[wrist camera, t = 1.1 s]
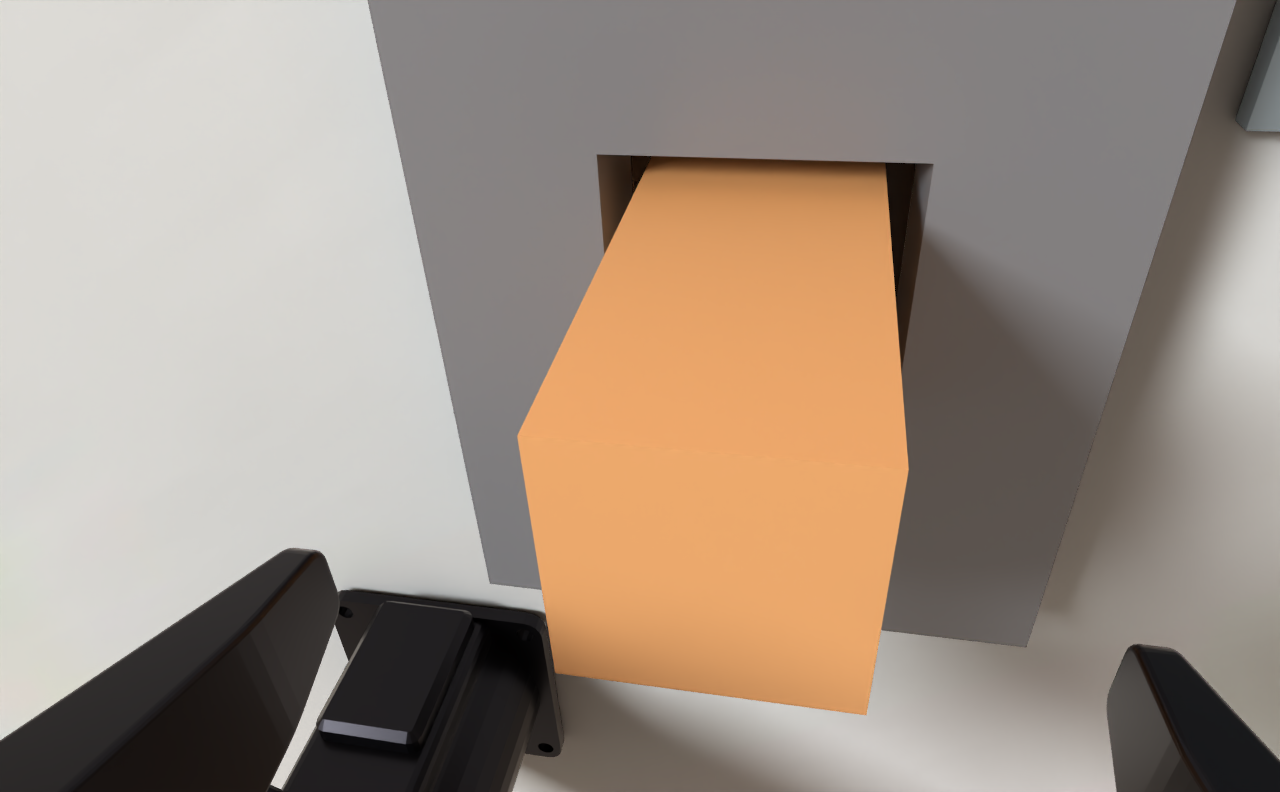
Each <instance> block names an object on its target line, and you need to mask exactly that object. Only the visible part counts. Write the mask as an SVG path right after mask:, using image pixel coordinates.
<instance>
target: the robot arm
mask: <svg viewBox="0 0 1280 792" xmlns="http://www.w3.org/2000/svg"><path fill="white" fill-rule="evenodd" d="M334 625H335V626H336V629H337V631H338V634H339V637H340V639H341V642H342V645H343V647H344V650H345V653H346V655H347V658H348V661H349V662H348V664H347V666H346V667H345V669H344V671H343V673H342V675H341V677H340V678H339V680H338V682H337V684H336V686H335V687H334V689H333V691H332V693H331V695H330V697H329V698H328V700H327V702H326V704H325V706H324V708H323V709H322V711H321V713H320V715H319V717H318V719H317V722H316V727H315V729H314V730H313V732H312V734H311V736H310V738H309V740H308V741H307V743H306V745H305V747H304V749H303V751H302V752H301V754H300V756H299V758H298V760H297V762H296V764H295V765H294V767H293V769H292V771H291V773H290V775H289V776H288V778H287V780H286V782H285V784H284V786H283V787H282V789H279V788H277V787H274V786H272V785H270V784H271V782H272V780H273V778H274V776H275V774H276V771H277V769H278V767H279V765H280V763H281V761H282V759H283V757H284V755H285V753H286V751H287V749H288V746H289V744H290V742H291V740H292V738H293V735H294V733H295V731H296V728H297V726H298V723H299V721H300V718H301V716H302V713H303V711H304V708H305V705H306V702H307V700H308V697H309V694H310V691H311V688H312V686H313V683H314V680H315V677H316V675H317V672H318V669H319V666H320V664H321V661H322V658H323V655H324V653H325V650H326V647H327V644H328V641H329V639H330V636H331V633H332V630H333V628H334ZM1107 718H1108V726H1109V734H1110V742H1111V750H1112V758H1113V766H1114V774H1115V782H1116V790H1117V792H1280V760H1279V759H1278V758H1277V757H1276V756H1275V755H1274V754H1273V753H1272V751H1271V750H1270V749H1269V748H1268V747H1267V746H1266V745H1265V744H1264V743H1263V742H1262V741H1261V740H1260V739H1259V737H1258V736H1257V735H1256V734H1255V733H1254V732H1253V731H1252V730H1251V729H1250V728H1249V727H1248V726H1247V725H1246V723H1245V722H1244V721H1243V720H1242V719H1241V718H1240V717H1239V716H1238V715H1237V714H1236V713H1235V712H1234V711H1233V709H1232V708H1231V707H1230V706H1229V705H1228V704H1227V703H1226V702H1225V701H1224V700H1223V699H1222V698H1221V697H1220V695H1219V694H1218V693H1217V692H1216V691H1215V690H1214V689H1213V688H1212V687H1211V686H1210V685H1209V684H1208V683H1207V681H1206V680H1205V679H1204V678H1203V677H1202V676H1201V675H1200V674H1199V673H1198V672H1197V671H1196V670H1195V669H1194V667H1193V666H1192V665H1191V664H1190V663H1189V662H1188V661H1187V660H1186V659H1185V658H1184V657H1183V656H1182V655H1181V654H1180V653H1179V652H1177V651H1176V650H1174V649H1171V648H1167V647H1159V646H1150V645H1142V644H1135V645H1132V646H1130V647H1129V648H1128V649H1127V651H1126V653H1125V655H1124V657H1123V659H1122V662H1121V664H1120V666H1119V669H1118V671H1117V674H1116V676H1115V678H1114V681H1113V683H1112V685H1111V688H1110V690H1109V693H1108V698H1107ZM563 743H564V735H563V729H562V723H561V716H560V710H559V704H558V698H557V692H556V686H555V680H554V673H553V667H552V661H551V655H550V649H549V643H548V637H547V630H546V626H545V623H544V621H543V620H542V619H541V618H540V617H538V616H536V615H534V614H531V613H526V612H518V611H510V610H502V609H494V608H486V607H478V606H470V605H462V604H454V603H446V602H438V601H430V600H422V599H414V598H405V597H397V596H389V595H381V594H373V593H365V592H357V591H349V590H341V591H339V592H337V589H336V586H335V583H334V580H333V577H332V575H331V572H330V569H329V566H328V563H327V560H326V558H325V556H324V555H323V554H322V553H321V552H320V551H317V550H309V549H300V548H289V549H286V550H284V551H282V552H280V553H279V554H277V555H276V556H274V557H273V558H271V559H270V560H268V561H267V562H265V563H264V564H262V565H261V566H259V567H258V568H256V569H255V570H253V571H252V572H250V573H249V574H247V575H246V576H244V577H243V578H241V579H240V580H238V581H237V582H235V583H234V584H232V585H231V586H229V587H228V588H226V589H225V590H223V591H222V592H221V593H219V594H218V595H216V596H215V597H213V598H212V599H210V600H209V601H207V602H206V603H204V604H203V605H201V606H200V607H198V608H197V609H195V610H194V611H192V612H191V613H189V614H188V615H186V616H185V617H183V618H182V619H180V620H179V621H177V622H176V623H174V624H173V625H171V626H170V627H168V628H167V629H165V630H164V631H162V632H161V633H159V634H158V635H157V636H155V637H154V638H152V639H151V640H149V641H148V642H146V643H145V644H143V645H142V646H140V647H139V648H137V649H136V650H134V651H133V652H131V653H130V654H128V655H127V656H125V657H124V658H122V659H121V660H119V661H118V662H116V663H115V664H113V665H112V666H110V667H109V668H107V669H106V670H104V671H103V672H101V673H100V674H98V675H97V676H95V677H94V678H93V679H91V680H90V681H88V682H87V683H85V684H84V685H82V686H81V687H79V688H78V689H76V690H75V691H73V692H72V693H70V694H69V695H67V696H66V697H64V698H63V699H61V700H60V701H58V702H57V703H55V704H54V705H52V706H51V707H49V708H48V709H46V710H45V711H43V712H42V713H40V714H39V715H37V716H36V717H34V718H33V719H31V720H30V721H29V722H27V723H26V724H24V725H23V726H21V727H20V728H18V729H17V730H15V731H14V732H12V733H11V734H9V735H8V736H6V737H5V738H3V739H2V740H0V792H512V791H513V788H514V785H515V782H516V778H517V775H518V772H519V769H520V766H521V763H522V760H523V757H524V754H525V753H526V754H532V755H539V756H545V757H555V756H558V755H559V754H560V753H561V750H562V746H563Z"/></svg>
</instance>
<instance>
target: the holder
mask: <svg viewBox="0 0 1280 792" xmlns="http://www.w3.org/2000/svg"><path fill="white" fill-rule="evenodd" d="M1235 3H1236V0H368V4H369V9H370V14H371V19H372V24H373V28H374V33H375V38H376V43H377V47H378V52H379V57H380V62H381V66H382V71H383V76H384V81H385V85H386V90H387V95H388V100H389V105H390V109H391V114H392V119H393V124H394V128H395V133H396V138H397V143H398V147H399V152H400V157H401V162H402V167H403V171H404V176H405V181H406V186H407V190H408V195H409V200H410V205H411V209H412V214H413V219H414V224H415V228H416V233H417V238H418V243H419V248H420V252H421V257H422V262H423V267H424V271H425V276H426V281H427V286H428V290H429V295H430V300H431V305H432V310H433V314H434V319H435V324H436V329H437V333H438V338H439V343H440V348H441V352H442V357H443V362H444V367H445V371H446V376H447V381H448V386H449V391H450V395H451V400H452V405H453V410H454V414H455V419H456V424H457V429H458V433H459V438H460V443H461V448H462V453H463V457H464V462H465V467H466V472H467V476H468V481H469V486H470V491H471V495H472V500H473V505H474V510H475V514H476V519H477V524H478V529H479V534H480V538H481V543H482V548H483V553H484V557H485V562H486V567H487V572H488V576H489V581H490V584H497V585H506V586H514V587H523V588H531V589H540V590H542V587H541V581H540V575H539V569H538V562H537V556H536V550H535V544H534V538H533V531H532V525H531V519H530V513H529V506H528V500H527V494H526V488H525V481H524V475H523V469H522V463H521V457H520V450H519V444H518V438H517V435H518V433H519V431H520V429H521V427H522V425H523V423H524V421H525V418H526V416H527V414H528V412H529V410H530V408H531V406H532V404H533V402H534V400H535V398H536V396H537V394H538V391H539V389H540V387H541V385H542V383H543V381H544V379H545V377H546V375H547V373H548V371H549V369H550V367H551V365H552V362H553V360H554V358H555V356H556V354H557V352H558V350H559V348H560V346H561V344H562V342H563V340H564V338H565V335H566V333H567V331H568V329H569V327H570V325H571V323H572V321H573V319H574V317H575V315H576V313H577V311H578V308H579V306H580V304H581V302H582V300H583V298H584V296H585V294H586V292H587V290H588V288H589V286H590V284H591V281H592V279H593V277H594V275H595V273H596V271H597V269H598V267H599V265H600V263H601V261H602V259H603V257H604V254H605V252H606V250H607V248H608V246H609V244H610V242H611V240H612V238H613V236H614V234H615V232H616V230H617V227H618V225H619V223H620V221H621V219H622V217H623V215H624V213H625V211H626V209H627V207H628V205H629V203H630V201H631V198H632V196H633V193H632V174H631V155H637V156H673V157H709V158H746V159H782V160H819V161H855V162H892V163H916V166H915V173H914V180H913V187H912V194H911V201H910V208H909V215H908V222H907V229H906V236H905V244H904V251H903V258H902V265H901V272H900V279H899V286H898V293H897V300H896V310H897V323H898V336H899V349H900V362H901V375H902V388H903V401H904V414H905V427H906V441H907V454H908V467H909V471H908V477H907V483H906V488H905V494H904V500H903V506H902V512H901V517H900V523H899V529H898V535H897V540H896V546H895V552H894V558H893V564H892V569H891V575H890V581H889V587H888V592H887V598H886V604H885V610H884V616H883V621H882V627H881V630H885V631H893V632H901V633H910V634H918V635H927V636H935V637H943V638H952V639H960V640H969V641H977V642H985V643H994V644H1002V645H1011V646H1019V647H1027V644H1028V641H1029V638H1030V634H1031V631H1032V628H1033V625H1034V622H1035V619H1036V616H1037V613H1038V610H1039V607H1040V604H1041V601H1042V598H1043V594H1044V591H1045V588H1046V585H1047V582H1048V579H1049V576H1050V573H1051V570H1052V567H1053V564H1054V561H1055V558H1056V554H1057V551H1058V548H1059V545H1060V542H1061V539H1062V536H1063V533H1064V530H1065V527H1066V524H1067V521H1068V518H1069V514H1070V511H1071V508H1072V505H1073V502H1074V499H1075V496H1076V493H1077V490H1078V487H1079V484H1080V481H1081V477H1082V474H1083V471H1084V468H1085V465H1086V462H1087V459H1088V456H1089V453H1090V450H1091V447H1092V444H1093V441H1094V437H1095V434H1096V431H1097V428H1098V425H1099V422H1100V419H1101V416H1102V413H1103V410H1104V407H1105V404H1106V401H1107V397H1108V394H1109V391H1110V388H1111V385H1112V382H1113V379H1114V376H1115V373H1116V370H1117V367H1118V364H1119V361H1120V357H1121V354H1122V351H1123V348H1124V345H1125V342H1126V339H1127V336H1128V333H1129V330H1130V327H1131V324H1132V321H1133V317H1134V314H1135V311H1136V308H1137V305H1138V302H1139V299H1140V296H1141V293H1142V290H1143V287H1144V284H1145V281H1146V277H1147V274H1148V271H1149V268H1150V265H1151V262H1152V259H1153V256H1154V253H1155V250H1156V247H1157V244H1158V240H1159V237H1160V234H1161V231H1162V228H1163V225H1164V222H1165V219H1166V216H1167V213H1168V210H1169V207H1170V204H1171V200H1172V197H1173V194H1174V191H1175V188H1176V185H1177V182H1178V179H1179V176H1180V173H1181V170H1182V167H1183V164H1184V160H1185V157H1186V154H1187V151H1188V148H1189V145H1190V142H1191V139H1192V136H1193V133H1194V130H1195V127H1196V124H1197V120H1198V117H1199V114H1200V111H1201V108H1202V105H1203V102H1204V99H1205V96H1206V93H1207V90H1208V87H1209V84H1210V80H1211V77H1212V74H1213V71H1214V68H1215V65H1216V62H1217V59H1218V56H1219V53H1220V50H1221V47H1222V44H1223V40H1224V37H1225V34H1226V31H1227V28H1228V25H1229V22H1230V19H1231V16H1232V13H1233V10H1234V7H1235Z"/></svg>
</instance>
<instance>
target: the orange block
mask: <svg viewBox="0 0 1280 792" xmlns="http://www.w3.org/2000/svg"><path fill="white" fill-rule="evenodd" d="M517 438H518V444H519V450H520V457H521V463H522V469H523V475H524V481H525V488H526V494H527V500H528V506H529V513H530V519H531V525H532V531H533V538H534V544H535V550H536V556H537V562H538V569H539V575H540V581H541V587H542V594H543V600H544V606H545V612H546V619H547V625H548V631H549V637H550V644H551V650H552V656H553V662H554V668H555V673H558V674H566V675H573V676H580V677H588V678H595V679H603V680H610V681H617V682H625V683H632V684H640V685H647V686H654V687H662V688H669V689H676V690H684V691H691V692H699V693H706V694H713V695H721V696H728V697H735V698H743V699H750V700H758V701H765V702H772V703H780V704H787V705H794V706H802V707H809V708H817V709H824V710H831V711H839V712H846V713H854V714H861V715H866V714H867V708H868V702H869V697H870V691H871V685H872V679H873V673H874V668H875V662H876V656H877V650H878V645H879V639H880V633H881V627H882V621H883V616H884V610H885V604H886V598H887V592H888V587H889V581H890V575H891V569H892V564H893V558H894V552H895V546H896V540H897V535H898V529H899V523H900V517H901V512H902V506H903V500H904V494H905V488H906V483H907V477H908V471H909V467H908V454H907V441H906V427H905V414H904V401H903V388H902V375H901V362H900V349H899V336H898V323H897V310H896V297H895V284H894V271H893V258H892V244H891V231H890V218H889V205H888V192H887V179H886V166H885V162H855V161H819V160H782V159H746V158H709V157H673V156H652V157H651V159H650V161H649V163H648V165H647V167H646V169H645V171H644V174H643V176H642V178H641V180H640V182H639V184H638V186H637V188H636V190H635V192H634V194H633V196H632V198H631V201H630V203H629V205H628V207H627V209H626V211H625V213H624V215H623V217H622V219H621V221H620V223H619V225H618V227H617V230H616V232H615V234H614V236H613V238H612V240H611V242H610V244H609V246H608V248H607V250H606V252H605V254H604V257H603V259H602V261H601V263H600V265H599V267H598V269H597V271H596V273H595V275H594V277H593V279H592V281H591V284H590V286H589V288H588V290H587V292H586V294H585V296H584V298H583V300H582V302H581V304H580V306H579V308H578V311H577V313H576V315H575V317H574V319H573V321H572V323H571V325H570V327H569V329H568V331H567V333H566V335H565V338H564V340H563V342H562V344H561V346H560V348H559V350H558V352H557V354H556V356H555V358H554V360H553V362H552V365H551V367H550V369H549V371H548V373H547V375H546V377H545V379H544V381H543V383H542V385H541V387H540V389H539V391H538V394H537V396H536V398H535V400H534V402H533V404H532V406H531V408H530V410H529V412H528V414H527V416H526V418H525V421H524V423H523V425H522V427H521V429H520V431H519V433H518V435H517Z"/></svg>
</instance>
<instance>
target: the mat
mask: <svg viewBox="0 0 1280 792" xmlns="http://www.w3.org/2000/svg"><path fill="white" fill-rule="evenodd" d="M1235 121H1236V122H1237V123H1238V124H1239V125H1240V126H1241V127H1242V128H1243V129H1244V130H1245V131H1276V132H1280V0H1277V2H1276V5H1275V8H1274V11H1273V13H1272V16H1271V19H1270V22H1269V25H1268V28H1267V31H1266V33H1265V36H1264V39H1263V42H1262V45H1261V48H1260V51H1259V53H1258V56H1257V59H1256V62H1255V65H1254V68H1253V71H1252V73H1251V76H1250V79H1249V82H1248V85H1247V88H1246V91H1245V93H1244V96H1243V99H1242V102H1241V105H1240V108H1239V111H1238V113H1237V116H1236V119H1235Z"/></svg>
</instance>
